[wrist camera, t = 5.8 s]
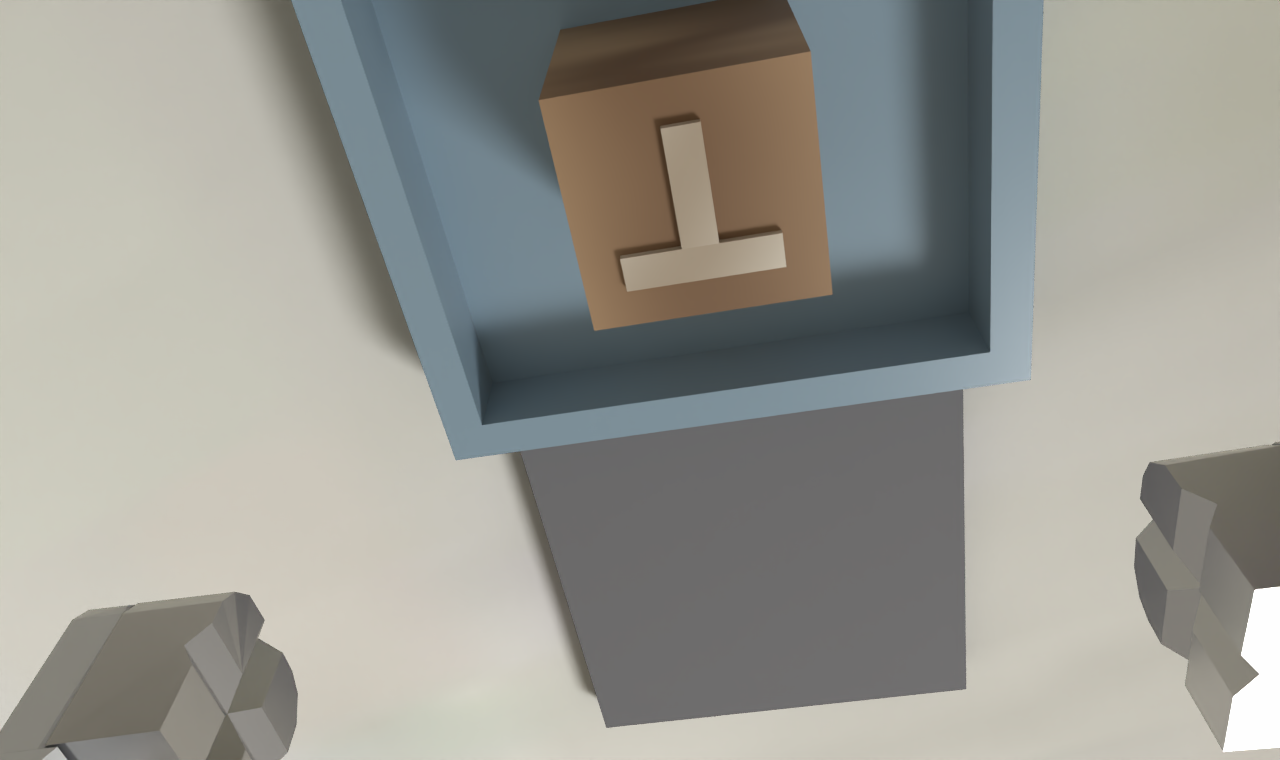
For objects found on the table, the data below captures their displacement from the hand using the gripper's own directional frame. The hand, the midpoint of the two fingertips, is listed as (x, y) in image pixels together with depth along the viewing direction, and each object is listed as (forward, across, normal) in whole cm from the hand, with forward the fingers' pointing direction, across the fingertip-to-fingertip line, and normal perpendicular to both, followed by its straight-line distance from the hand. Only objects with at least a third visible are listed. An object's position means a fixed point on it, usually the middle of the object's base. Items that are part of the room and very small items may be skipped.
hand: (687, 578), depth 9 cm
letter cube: (+12, 0, 0) cm, 12 cm away
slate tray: (+12, 0, 0) cm, 13 cm away
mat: (+13, 0, +12) cm, 17 cm away
